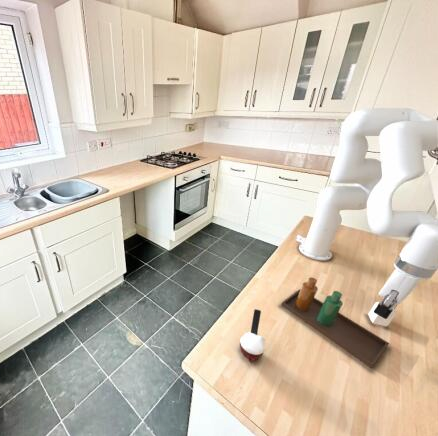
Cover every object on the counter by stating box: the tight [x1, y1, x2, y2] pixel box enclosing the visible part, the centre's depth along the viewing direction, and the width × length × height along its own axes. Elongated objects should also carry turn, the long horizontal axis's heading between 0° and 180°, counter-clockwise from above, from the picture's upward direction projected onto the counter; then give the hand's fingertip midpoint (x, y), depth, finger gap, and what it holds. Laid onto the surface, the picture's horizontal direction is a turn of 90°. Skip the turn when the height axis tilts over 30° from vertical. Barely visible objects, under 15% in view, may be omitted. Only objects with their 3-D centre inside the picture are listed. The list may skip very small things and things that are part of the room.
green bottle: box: [317, 290, 344, 326], centre depth 74 cm, size 4×4×12 cm
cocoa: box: [239, 308, 265, 364], centre depth 66 cm, size 10×6×12 cm, turn 136°
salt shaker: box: [367, 298, 398, 327], centre depth 75 cm, size 4×4×10 cm
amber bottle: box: [295, 276, 319, 311], centre depth 80 cm, size 4×4×12 cm
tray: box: [280, 288, 390, 369], centre depth 76 cm, size 25×11×2 cm, turn 33°
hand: (383, 310), depth 75 cm, fingers closed on salt shaker, 5 cm apart
